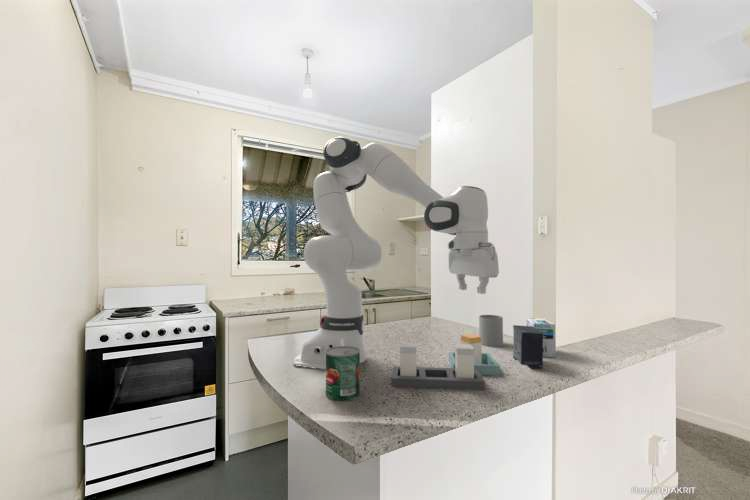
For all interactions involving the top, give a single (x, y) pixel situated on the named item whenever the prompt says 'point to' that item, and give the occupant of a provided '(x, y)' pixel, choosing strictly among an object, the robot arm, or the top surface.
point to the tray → (483, 369)
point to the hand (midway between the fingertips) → (471, 291)
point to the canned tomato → (342, 373)
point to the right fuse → (464, 361)
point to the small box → (528, 346)
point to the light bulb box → (545, 335)
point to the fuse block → (437, 379)
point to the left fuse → (408, 359)
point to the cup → (491, 330)
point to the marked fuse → (475, 343)
